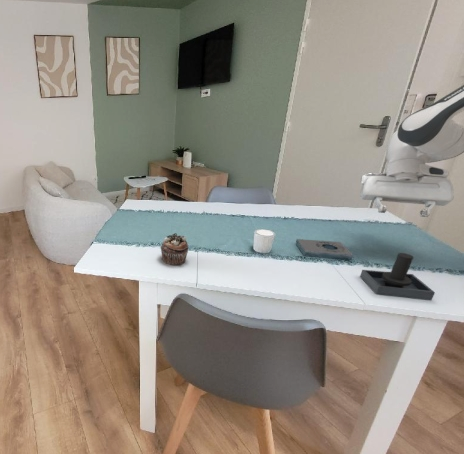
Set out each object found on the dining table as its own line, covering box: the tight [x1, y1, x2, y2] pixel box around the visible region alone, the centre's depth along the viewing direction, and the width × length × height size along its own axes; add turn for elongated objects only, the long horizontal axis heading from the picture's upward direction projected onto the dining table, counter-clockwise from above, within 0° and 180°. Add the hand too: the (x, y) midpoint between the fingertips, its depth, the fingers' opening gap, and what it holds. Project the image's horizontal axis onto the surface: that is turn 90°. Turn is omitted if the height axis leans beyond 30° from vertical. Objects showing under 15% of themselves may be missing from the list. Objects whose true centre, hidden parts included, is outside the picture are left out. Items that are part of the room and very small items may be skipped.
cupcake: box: [160, 233, 189, 266], centre depth 102 cm, size 10×10×10 cm
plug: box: [382, 252, 414, 288], centre depth 81 cm, size 6×6×10 cm
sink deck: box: [295, 238, 354, 261], centre depth 104 cm, size 14×10×2 cm
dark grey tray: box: [359, 269, 436, 301], centre depth 83 cm, size 12×9×2 cm
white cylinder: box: [252, 228, 276, 254], centre depth 107 cm, size 7×7×7 cm
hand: (402, 213), depth 87 cm, fingers open, 8 cm apart
